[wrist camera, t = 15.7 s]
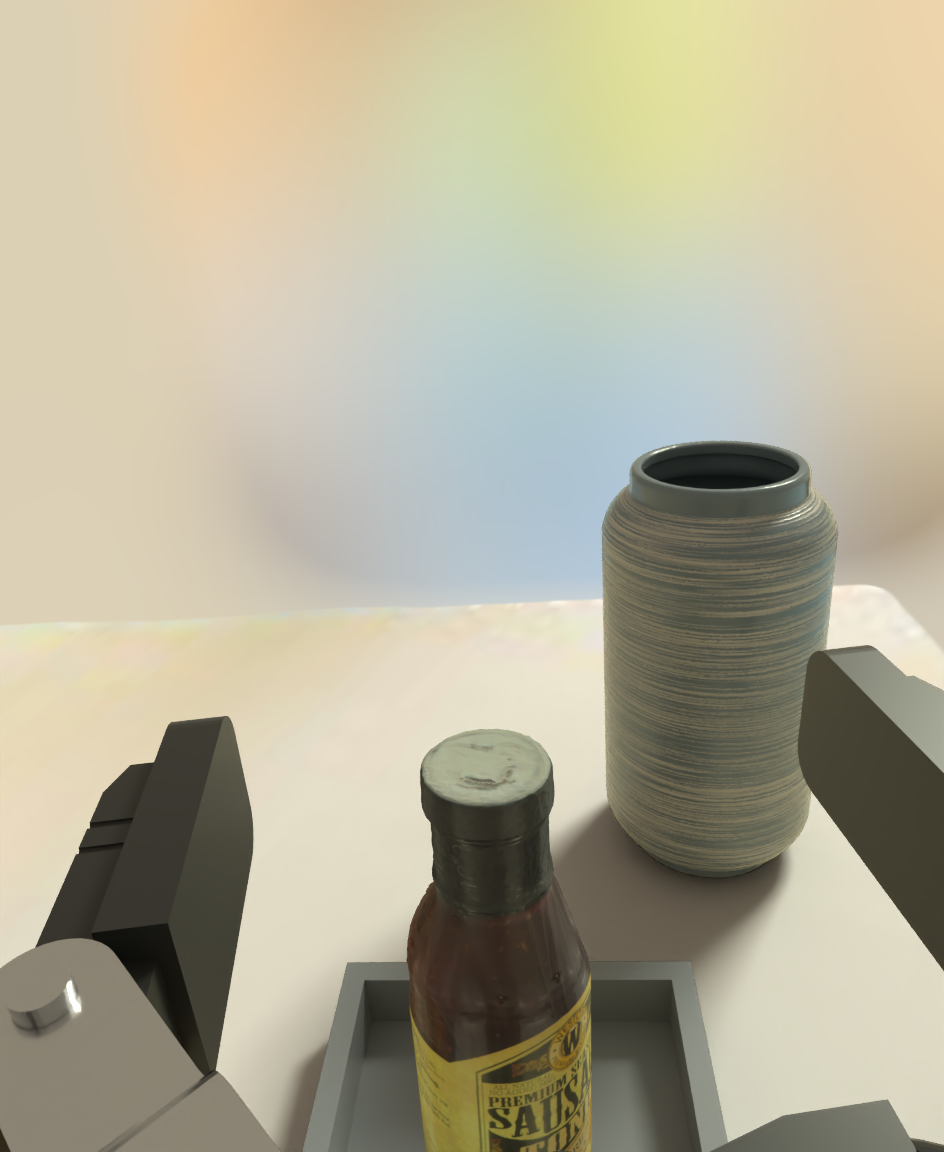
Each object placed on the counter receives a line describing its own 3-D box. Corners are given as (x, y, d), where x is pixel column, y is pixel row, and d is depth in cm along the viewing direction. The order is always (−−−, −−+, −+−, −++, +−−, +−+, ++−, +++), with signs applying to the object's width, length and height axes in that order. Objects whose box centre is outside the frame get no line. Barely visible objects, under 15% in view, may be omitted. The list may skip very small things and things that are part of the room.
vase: (567, 827, 53) (553, 472, 43) (684, 746, 59) (693, 422, 50) (729, 934, 45) (754, 523, 35) (843, 825, 51) (890, 455, 42)
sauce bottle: (520, 1323, 29) (475, 883, 21) (399, 1194, 33) (323, 784, 25) (629, 1173, 33) (627, 756, 25) (510, 1074, 38) (476, 689, 29)
